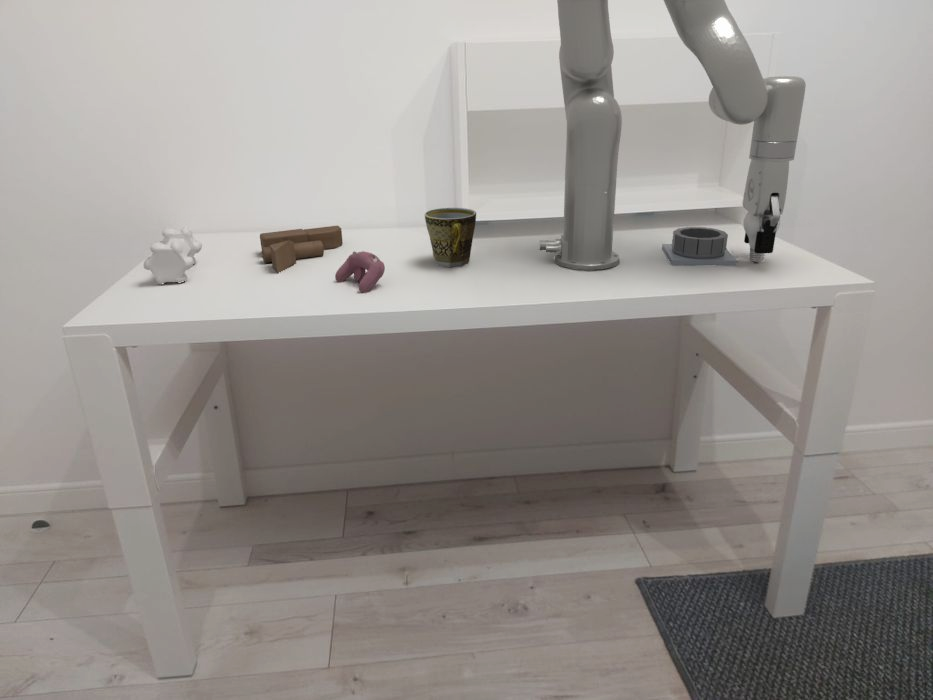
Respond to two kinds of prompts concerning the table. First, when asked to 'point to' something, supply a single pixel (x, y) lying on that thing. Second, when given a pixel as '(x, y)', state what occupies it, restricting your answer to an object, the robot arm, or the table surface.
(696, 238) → the socket
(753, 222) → the lightbulb
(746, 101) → the robot arm
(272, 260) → the wooden block set
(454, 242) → the ceramic cup
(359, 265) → the video game controller
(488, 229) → the table surface
